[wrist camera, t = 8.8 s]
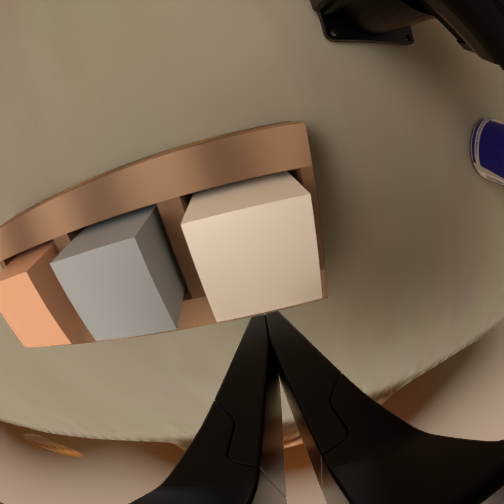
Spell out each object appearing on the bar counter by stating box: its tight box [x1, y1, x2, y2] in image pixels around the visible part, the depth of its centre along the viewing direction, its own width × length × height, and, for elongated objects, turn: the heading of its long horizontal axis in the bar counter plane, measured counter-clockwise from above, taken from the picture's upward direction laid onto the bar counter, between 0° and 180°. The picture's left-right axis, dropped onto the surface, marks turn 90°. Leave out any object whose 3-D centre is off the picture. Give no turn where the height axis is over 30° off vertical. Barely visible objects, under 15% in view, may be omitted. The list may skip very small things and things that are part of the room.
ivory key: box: [181, 171, 322, 322], centre depth 13 cm, size 5×5×4 cm
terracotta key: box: [0, 239, 83, 347], centre depth 14 cm, size 5×5×4 cm
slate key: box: [50, 204, 186, 341], centre depth 14 cm, size 5×5×4 cm
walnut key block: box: [0, 121, 327, 346], centre depth 16 cm, size 21×10×4 cm, turn 102°
